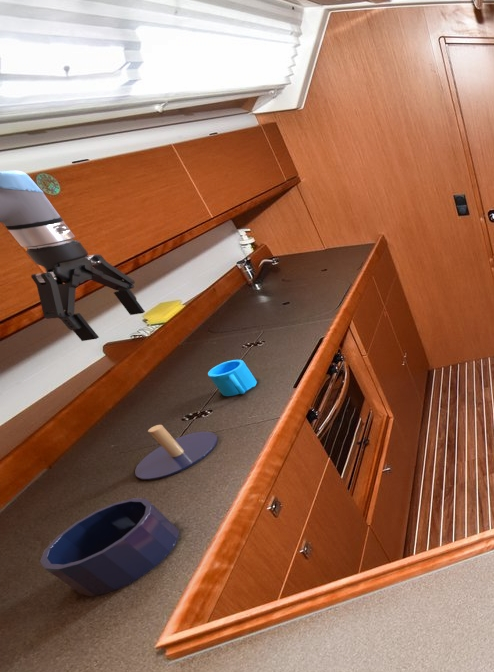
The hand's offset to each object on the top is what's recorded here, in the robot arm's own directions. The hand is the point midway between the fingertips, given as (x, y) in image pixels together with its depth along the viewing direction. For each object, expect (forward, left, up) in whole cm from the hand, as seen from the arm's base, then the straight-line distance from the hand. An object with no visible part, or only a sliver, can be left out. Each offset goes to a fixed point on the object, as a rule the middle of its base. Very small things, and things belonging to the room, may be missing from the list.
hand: (115, 325), depth 100 cm
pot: (+43, -24, -31) cm, 58 cm away
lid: (+18, -8, -30) cm, 36 cm away
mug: (+2, +12, -31) cm, 33 cm away
